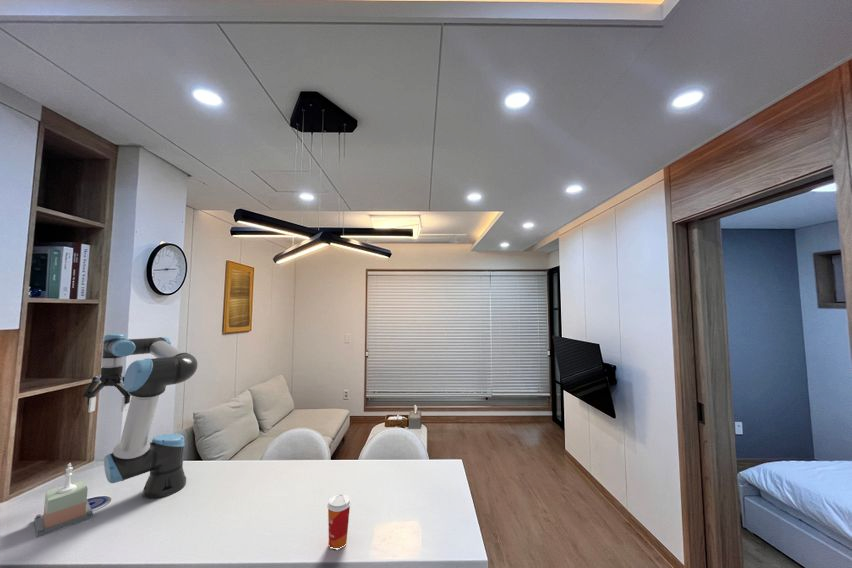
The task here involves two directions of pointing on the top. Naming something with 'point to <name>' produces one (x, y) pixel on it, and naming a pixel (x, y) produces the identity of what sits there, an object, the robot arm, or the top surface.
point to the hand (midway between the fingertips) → (108, 411)
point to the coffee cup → (338, 520)
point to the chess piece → (67, 481)
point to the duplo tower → (63, 509)
